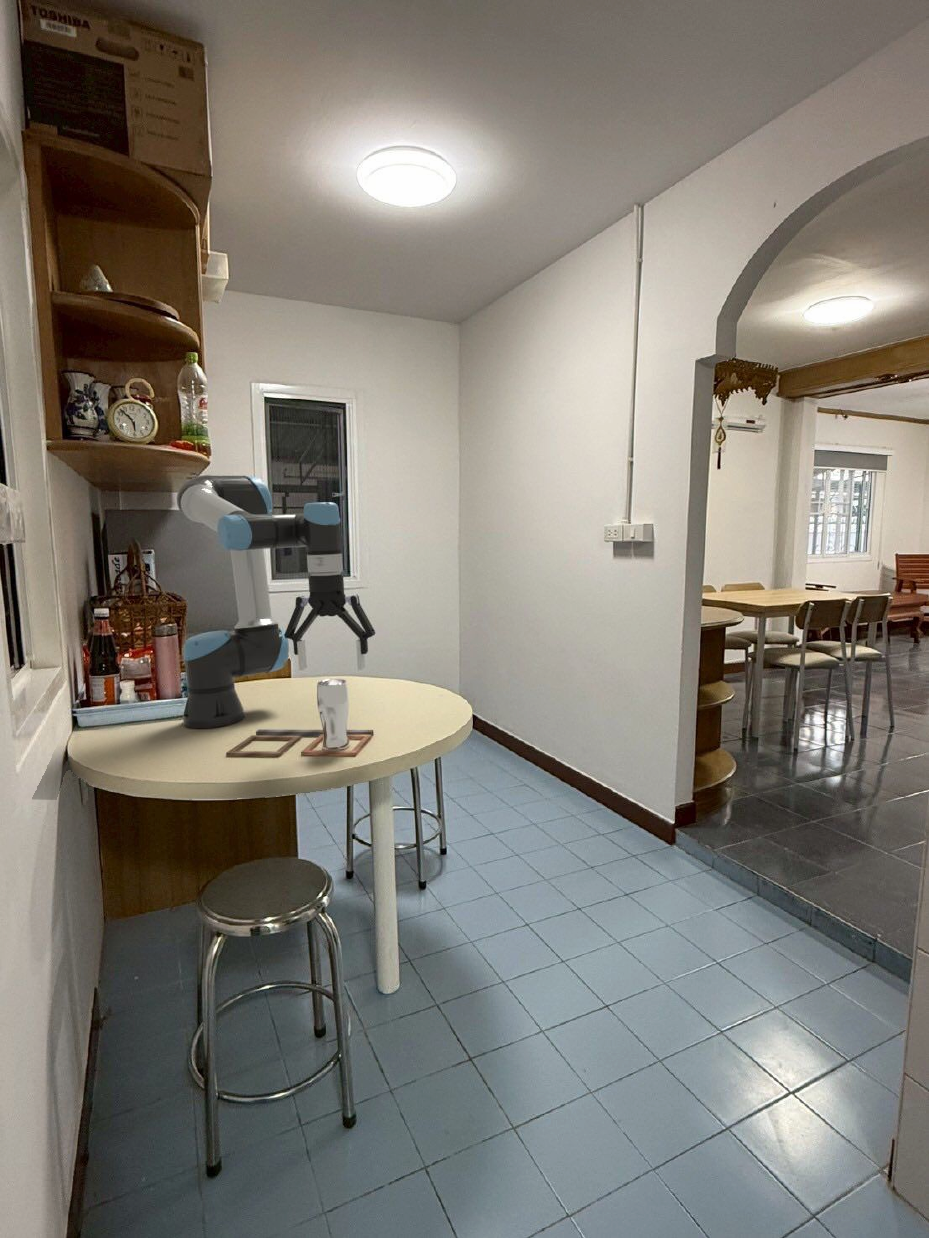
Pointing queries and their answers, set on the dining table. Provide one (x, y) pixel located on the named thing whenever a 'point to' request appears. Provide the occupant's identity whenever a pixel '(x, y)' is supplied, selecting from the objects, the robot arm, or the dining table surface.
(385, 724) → the dining table surface
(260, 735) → the double square frame
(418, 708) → the dining table surface
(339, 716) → the beer glass
